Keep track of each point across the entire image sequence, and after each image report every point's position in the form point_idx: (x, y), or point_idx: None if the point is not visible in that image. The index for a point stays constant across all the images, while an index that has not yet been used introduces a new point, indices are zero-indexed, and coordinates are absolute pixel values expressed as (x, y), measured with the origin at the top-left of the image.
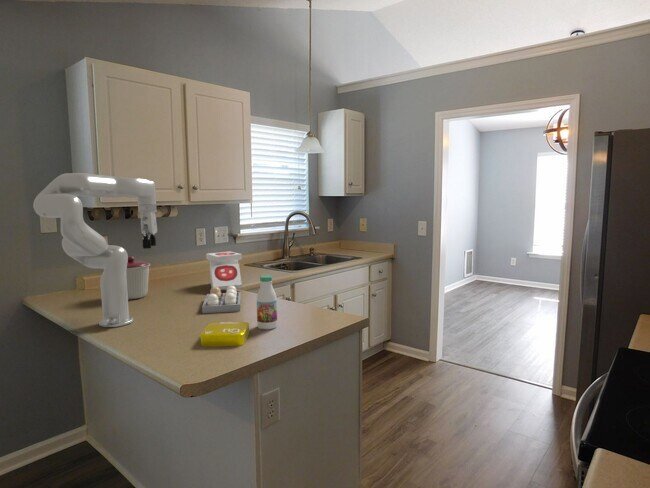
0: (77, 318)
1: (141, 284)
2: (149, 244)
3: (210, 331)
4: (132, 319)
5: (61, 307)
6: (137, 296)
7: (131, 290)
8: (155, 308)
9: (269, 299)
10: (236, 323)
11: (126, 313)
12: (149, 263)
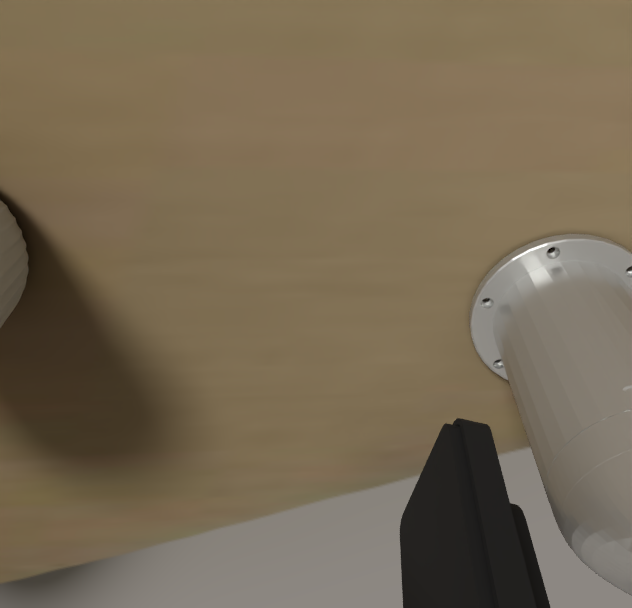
0: (355, 454)
1: None
2: (497, 513)
3: None
4: (606, 243)
5: (120, 509)
6: (8, 214)
7: (7, 269)
8: (320, 93)
9: None
10: None
11: (629, 292)
12: None
